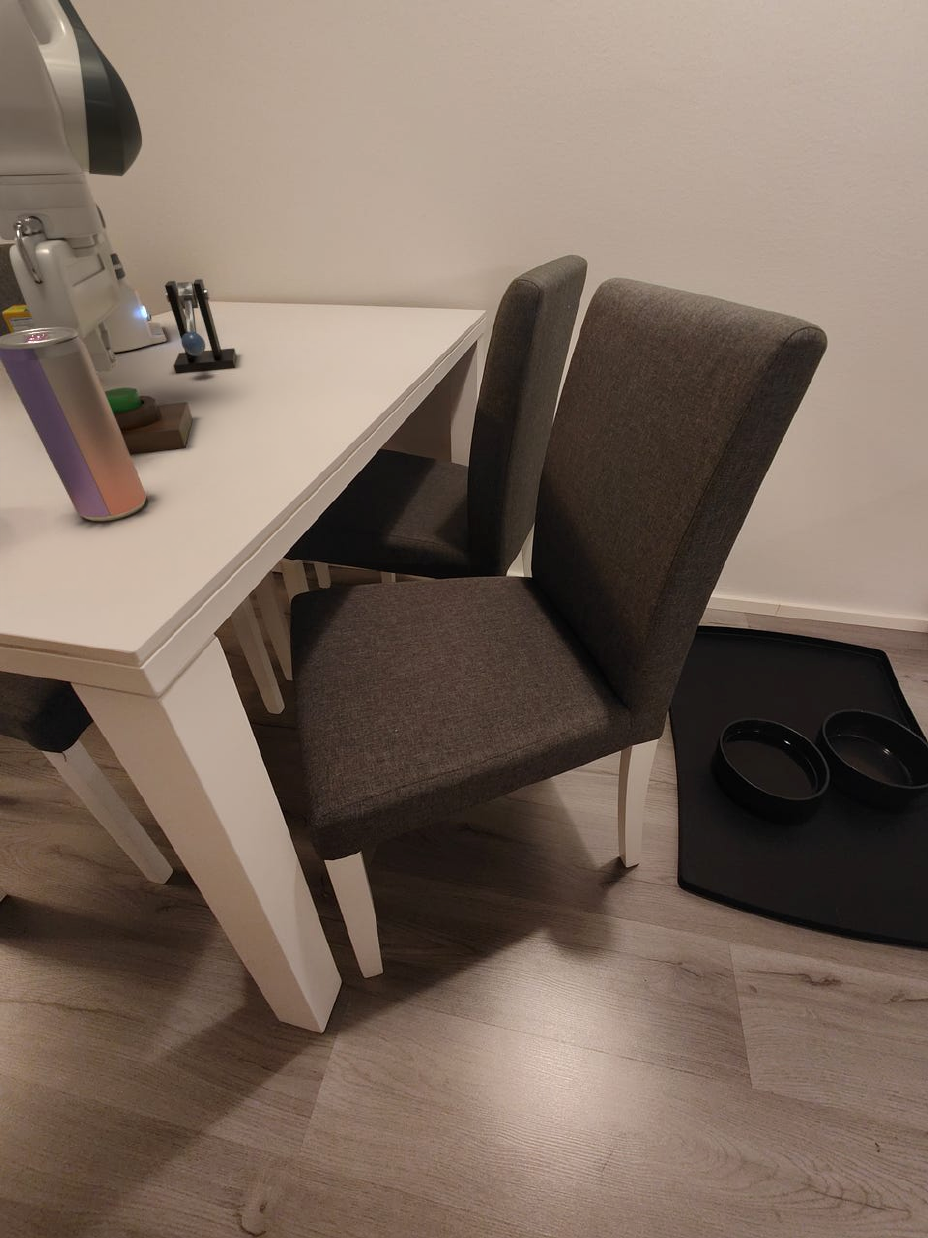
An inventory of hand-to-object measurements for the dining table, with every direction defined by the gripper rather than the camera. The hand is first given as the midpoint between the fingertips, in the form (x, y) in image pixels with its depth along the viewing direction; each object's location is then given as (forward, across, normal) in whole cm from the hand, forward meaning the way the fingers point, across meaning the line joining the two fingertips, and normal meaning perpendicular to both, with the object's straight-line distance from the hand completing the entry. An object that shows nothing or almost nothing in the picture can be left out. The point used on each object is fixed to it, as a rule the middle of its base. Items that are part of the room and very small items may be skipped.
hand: (106, 368), depth 62 cm
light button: (+4, 0, 0) cm, 4 cm away
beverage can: (+8, -19, -1) cm, 21 cm away
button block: (+8, 0, 0) cm, 8 cm away
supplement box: (+8, +26, +13) cm, 30 cm away
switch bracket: (+8, +33, -6) cm, 35 cm away
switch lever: (+2, +30, -6) cm, 30 cm away
